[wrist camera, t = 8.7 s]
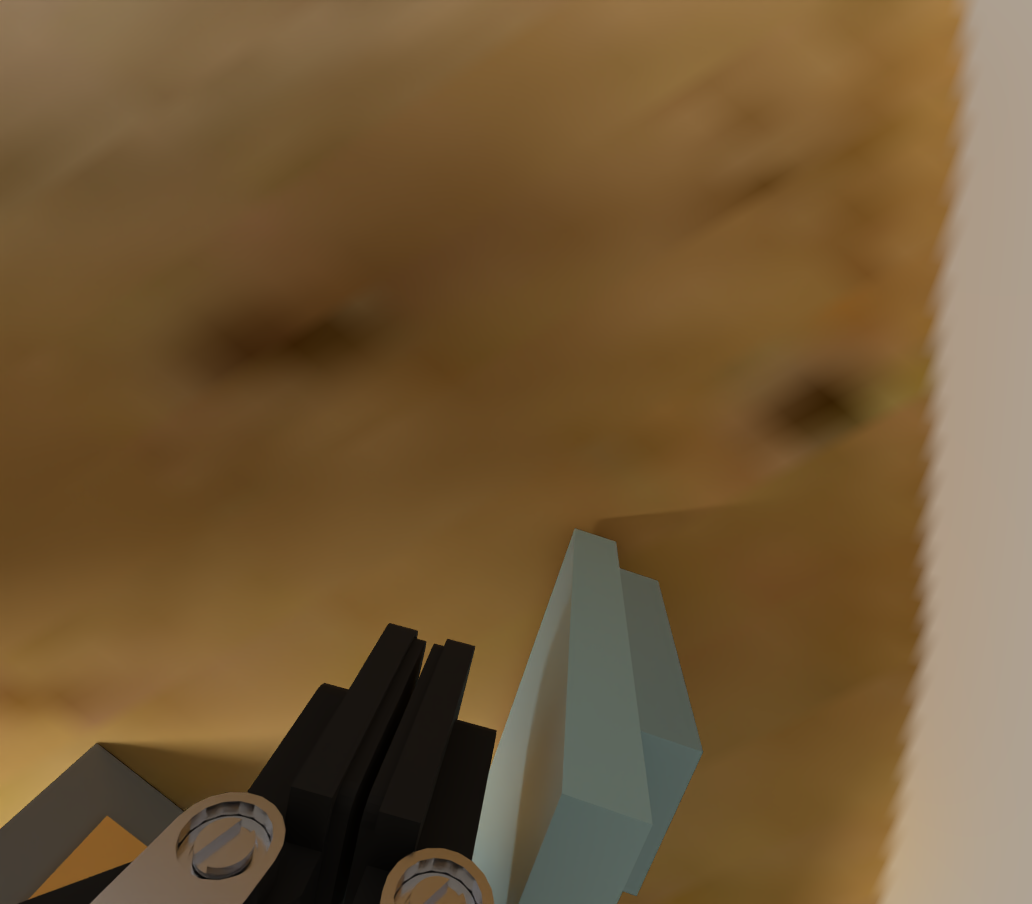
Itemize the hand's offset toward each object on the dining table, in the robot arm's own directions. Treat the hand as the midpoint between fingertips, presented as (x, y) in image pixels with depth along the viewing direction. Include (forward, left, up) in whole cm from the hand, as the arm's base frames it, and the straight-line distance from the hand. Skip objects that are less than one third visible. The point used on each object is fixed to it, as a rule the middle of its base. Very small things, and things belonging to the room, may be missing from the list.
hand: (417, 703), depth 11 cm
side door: (+6, -6, -7) cm, 11 cm away
